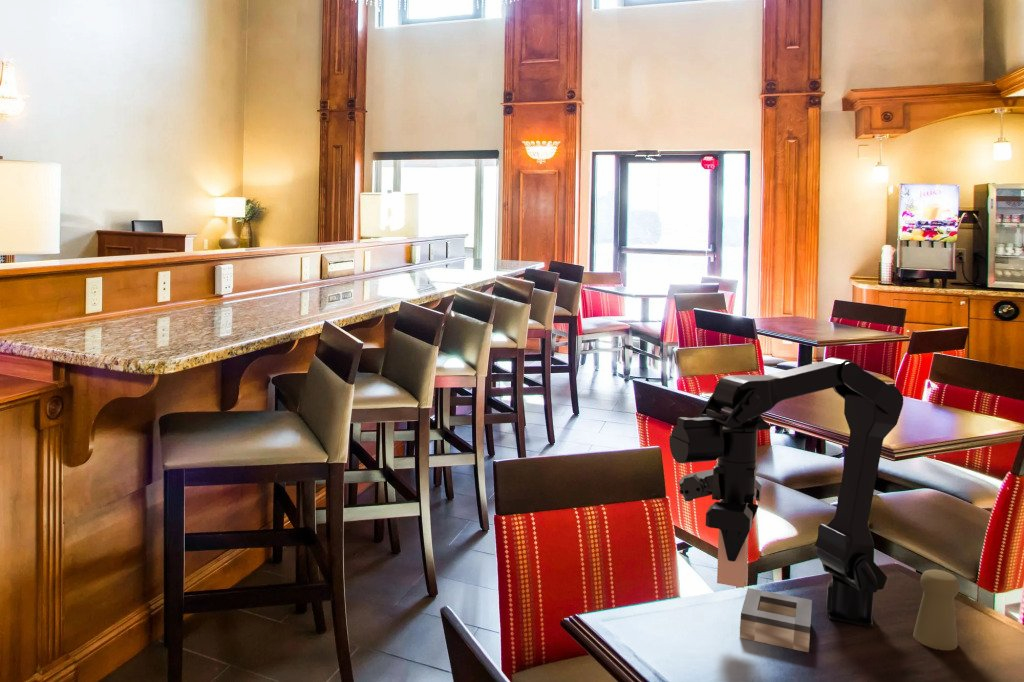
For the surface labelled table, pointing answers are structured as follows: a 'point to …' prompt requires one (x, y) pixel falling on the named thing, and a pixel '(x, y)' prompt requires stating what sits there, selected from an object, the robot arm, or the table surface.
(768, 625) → the socket block
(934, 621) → the beige pepper mill
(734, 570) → the square peg
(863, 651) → the table surface
